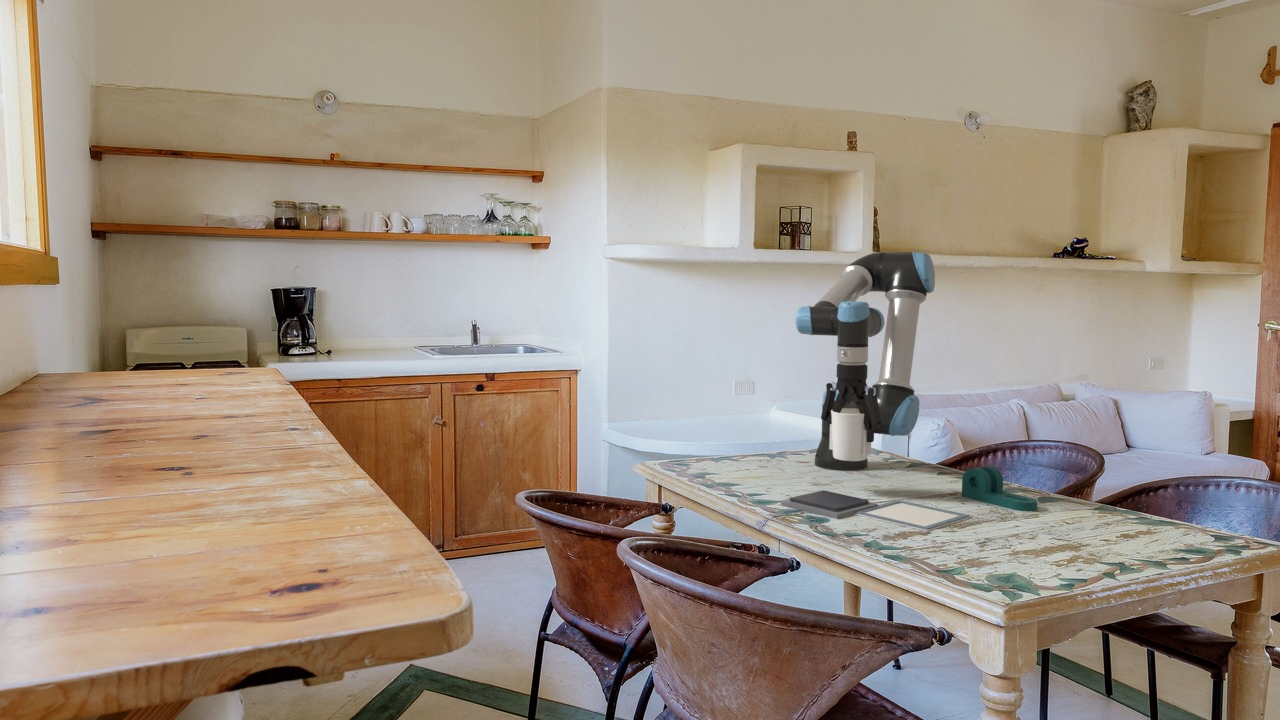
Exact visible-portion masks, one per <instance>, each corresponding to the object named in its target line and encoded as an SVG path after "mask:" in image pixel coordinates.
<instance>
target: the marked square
mask: <svg viewBox="0 0 1280 720" xmlns="http://www.w3.org/2000/svg"><path fill="white" fill-rule="evenodd" d="M853 515H855V516H859V517H860V516H861V517H864V518H868V519H872V520H877V521H881V522H886V523H889V524H895V525H898V526H902V527H906V528H911V529H915V530H919V531H923V532H924V531H925V532H930V531H933V530H937V529H940V528H943V527H946V526H949V525H952V524H956V523H958V522H962V521H965V520H967V519H971V518H973V517H972V516H971V515H970V514H966V513H961V512H957V511H951V510H946V509H942V508H938V507H933V506H929V505H924V504H919V503H914V502H909V501H904V500H900V499H896V500H894V501H890V502H885V503H881V504H879V505H878V506H875V507H871V508H868V509H864V510H860V511H856V512H855V513H854V514H853Z"/></svg>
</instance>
